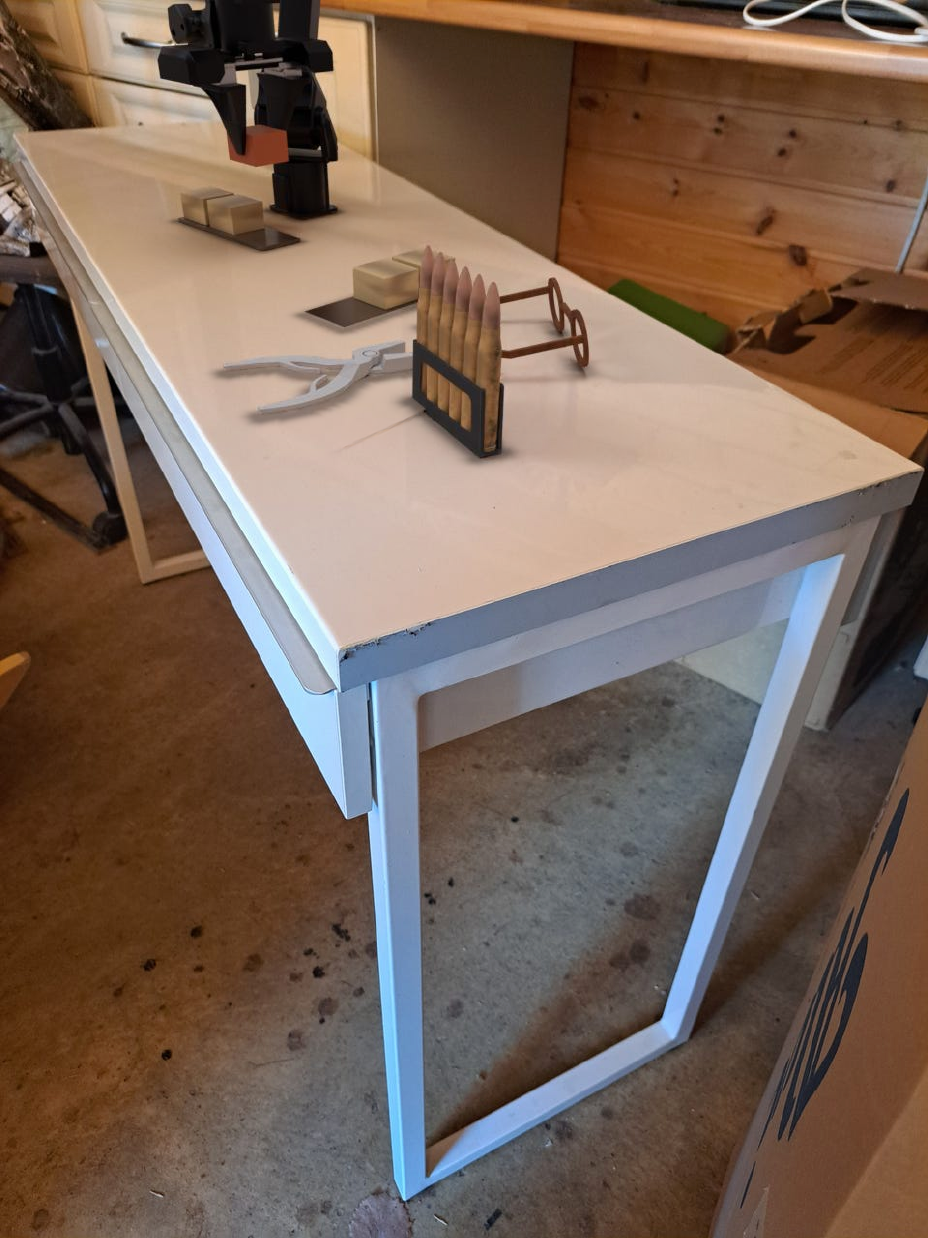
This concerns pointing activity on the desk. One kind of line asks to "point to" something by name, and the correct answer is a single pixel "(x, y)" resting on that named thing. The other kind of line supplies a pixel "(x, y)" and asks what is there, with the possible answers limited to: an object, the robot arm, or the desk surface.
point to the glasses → (558, 324)
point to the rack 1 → (231, 218)
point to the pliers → (362, 364)
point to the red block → (262, 146)
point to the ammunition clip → (459, 354)
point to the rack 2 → (379, 289)
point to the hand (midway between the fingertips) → (258, 151)
